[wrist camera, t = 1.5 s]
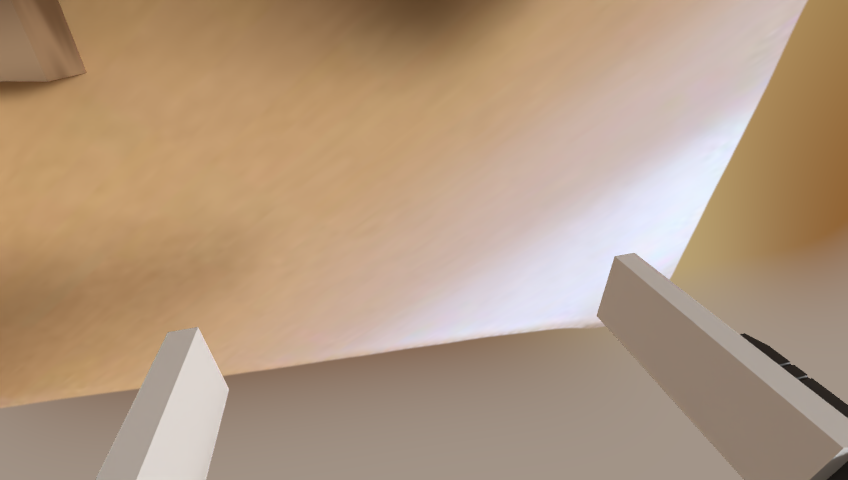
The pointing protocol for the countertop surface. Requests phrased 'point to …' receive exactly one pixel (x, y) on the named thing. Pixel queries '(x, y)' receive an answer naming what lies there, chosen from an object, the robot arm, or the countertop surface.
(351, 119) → the countertop surface
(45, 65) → the tee block
